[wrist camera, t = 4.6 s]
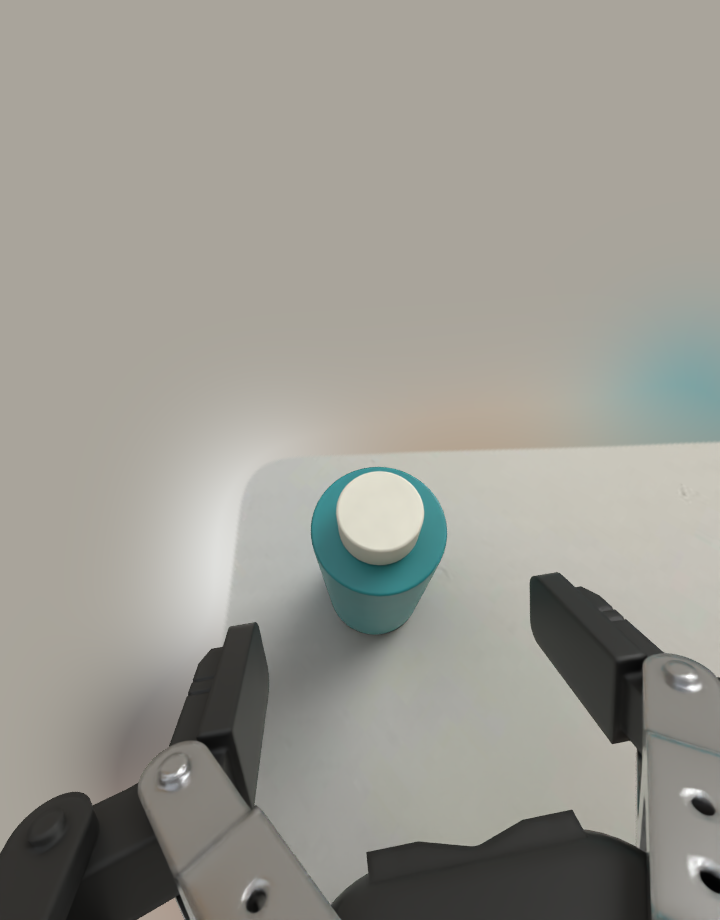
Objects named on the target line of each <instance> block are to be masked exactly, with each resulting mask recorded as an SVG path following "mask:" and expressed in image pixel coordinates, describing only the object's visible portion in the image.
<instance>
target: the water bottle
mask: <svg viewBox="0 0 720 920" xmlns="http://www.w3.org/2000/svg"><path fill="white" fill-rule="evenodd" d="M311 539H312V545H313V548H314V552H315V555H316V558H317V561H318V564H319V566H320V569H321V572H322V575H323V578H324V581H325V584H326V587H327V590H328V593H329V596H330V599H331V602H332V605H333V607H334V609H335V611H336V613H337V614H338V616H339V617H340V618H341V620H342V621H343V622H345V623H346V624H347V625H348V626H350V627H351V628H353V629H355V630H356V631H359V632H362V633H366V634H384V633H388V632H390V631H393V630H395V629H397V628H398V627H400V626H401V625H402V624H404V623H405V622H406V621H407V620H408V618H409V617H410V616H411V614H412V612H413V611H414V609H415V607H416V605H417V603H418V602H419V600H420V598H421V596H422V594H423V592H424V590H425V589H426V587H427V585H428V583H429V581H430V579H431V577H432V576H433V574H434V572H435V570H436V568H437V566H438V564H439V563H440V561H441V558H442V556H443V554H444V550H445V546H446V540H447V526H446V519H445V516H444V513H443V510H442V508H441V506H440V503H439V502H438V500H437V499H436V497H435V496H434V494H433V493H432V492H431V491H430V489H429V488H427V487H426V486H425V485H424V484H423V483H422V482H421V481H419V480H418V479H416V478H415V477H413V476H411V475H410V474H407V473H405V472H403V471H399V470H396V469H392V468H386V467H370V468H364V469H360V470H356V471H353V472H351V473H349V474H346V475H345V476H343V477H341V478H340V479H338V480H337V481H336V482H334V483H333V484H332V485H331V486H330V487H329V488H328V489H327V490H326V491H325V492H324V494H323V495H322V496H321V498H320V500H319V501H318V503H317V505H316V508H315V510H314V513H313V517H312V523H311Z"/></svg>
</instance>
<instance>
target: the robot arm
mask: <svg viewBox="0 0 720 920" xmlns="http://www.w3.org/2000/svg"><path fill="white" fill-rule="evenodd" d="M530 623H531V629H532V632H533V635H534V638H535V640H536V642H537V643H538V645H539V646H540V648H541V649H542V650H543V652H544V653H545V654H546V656H547V657H548V658H549V660H550V661H551V662H552V664H553V665H554V666H555V668H556V669H557V670H558V672H559V673H560V674H561V676H562V677H563V679H564V680H565V681H566V683H567V684H568V685H569V687H570V688H571V689H572V691H573V692H574V693H575V695H576V696H577V697H578V699H579V700H580V701H581V703H582V704H583V705H584V707H585V708H586V709H587V711H588V712H589V714H590V715H591V716H592V718H593V719H594V720H595V722H596V723H597V724H598V726H599V727H600V728H601V730H602V731H603V732H604V734H605V735H606V736H607V738H608V739H609V740H610V742H611V743H612V744H615V743H620V742H625V741H630V740H631V742H632V743H633V744H634V746H635V747H636V748H637V752H636V846H634V845H632V844H630V843H627V842H625V841H623V840H621V839H619V838H616V837H613V836H610V835H607V834H604V833H600V832H595V831H591V830H583V828H582V827H581V825H580V823H579V821H578V819H577V818H576V816H575V814H574V812H573V810H568V811H563V812H559V813H554V814H549V815H544V816H539V817H535V818H530V819H525V820H522V821H520V822H518V823H517V824H515V825H513V826H512V827H510V828H508V829H506V830H505V831H503V832H501V833H499V834H498V835H496V836H494V837H493V838H491V839H489V840H487V841H486V842H484V843H482V844H480V845H478V846H460V845H449V844H439V843H428V842H414V843H409V844H404V845H400V846H395V847H390V848H385V849H380V850H375V851H371V852H366V853H367V863H368V872H369V873H368V874H366V875H365V876H363V877H361V878H360V879H358V880H357V881H355V882H354V883H353V884H352V885H350V886H349V887H348V888H346V889H345V890H344V891H343V892H342V893H341V894H340V895H339V896H338V897H337V898H336V899H335V901H334V902H333V903H332V904H331V905H330V904H329V902H328V901H327V900H326V898H325V897H324V895H323V894H322V893H321V891H320V890H319V888H318V887H317V886H316V884H315V883H314V882H313V880H312V879H311V877H310V876H309V875H308V873H307V872H306V870H305V869H304V868H303V866H302V865H301V863H300V862H299V861H298V859H297V858H296V857H295V855H294V854H293V852H292V851H291V850H290V848H289V847H288V845H287V844H286V843H285V841H284V840H283V839H282V837H281V836H280V834H279V833H278V832H277V830H276V829H275V827H274V826H273V825H272V823H271V822H270V821H269V819H268V818H267V816H266V815H265V814H264V812H263V811H262V810H261V809H260V808H259V807H258V806H254V802H255V794H256V786H257V778H258V771H259V763H260V755H261V748H262V740H263V732H264V724H265V717H266V709H267V701H268V694H269V673H268V667H267V662H266V657H265V653H264V648H263V643H262V639H261V634H260V630H259V626H258V624H257V623H256V622H254V623H249V624H243V625H237V626H231V627H229V629H228V632H227V635H226V639H225V642H224V645H223V647H220V648H214V649H211V650H210V651H209V652H208V653H207V655H206V656H205V657H204V658H203V659H202V660H201V662H200V663H199V664H198V667H197V670H196V673H195V675H194V678H193V683H192V684H191V687H190V689H189V692H188V696H187V698H186V701H185V703H184V706H183V709H182V712H181V715H180V717H179V720H178V723H177V726H176V728H175V731H174V734H173V737H172V740H171V743H170V745H169V747H168V748H167V749H165V750H163V751H162V752H161V753H159V754H158V755H157V756H156V757H155V758H154V759H153V760H152V761H151V762H150V763H149V764H148V766H147V767H146V768H145V770H144V772H143V773H142V775H141V778H140V780H139V782H138V783H137V784H135V785H134V786H132V787H130V788H128V789H127V790H125V791H122V792H120V793H118V794H116V795H114V796H112V797H110V798H108V799H106V800H103V801H101V802H99V803H97V804H95V805H93V806H92V803H91V801H90V798H89V797H88V796H87V795H85V794H84V793H80V792H70V793H65V794H62V795H59V796H57V797H55V798H52V799H51V800H49V801H47V802H46V803H44V804H42V805H41V806H39V807H38V808H37V809H35V810H34V811H33V812H32V813H31V814H29V815H28V816H27V817H26V818H25V819H24V820H23V821H22V822H21V824H19V825H18V827H17V828H16V829H15V830H14V832H13V833H12V835H11V836H10V838H9V839H8V841H7V843H6V844H5V846H4V848H3V850H2V851H1V853H0V920H137V919H139V918H140V917H142V916H144V915H146V914H147V913H149V912H151V911H152V910H154V909H156V908H157V907H159V906H161V905H163V904H164V903H166V902H168V901H169V900H171V899H173V898H174V897H175V899H176V902H177V904H178V906H179V908H180V911H181V913H182V916H183V918H184V920H720V678H719V677H716V676H715V675H714V674H713V673H712V672H711V671H710V670H709V669H708V668H706V667H705V666H703V665H701V664H700V663H698V662H696V661H694V660H692V659H689V658H686V657H683V656H680V655H675V654H667V653H663V652H662V651H661V650H660V649H659V648H658V647H657V646H656V645H654V644H653V643H652V642H651V641H650V640H649V639H648V638H647V637H645V636H644V635H643V634H642V633H641V632H640V631H639V630H637V629H636V628H635V627H634V626H633V625H632V624H631V623H630V622H628V621H627V620H626V619H625V620H624V618H623V616H622V615H621V614H619V613H618V612H617V611H616V610H613V608H612V606H610V605H609V604H608V603H607V602H606V601H605V600H604V599H603V598H601V597H600V596H599V595H597V594H595V593H593V592H591V591H589V590H587V589H585V588H583V587H581V586H580V587H574V586H573V585H572V584H571V583H570V582H569V581H568V580H567V579H566V578H565V577H564V576H563V575H561V574H560V573H558V572H556V573H550V574H544V575H538V576H533V577H531V579H530Z"/></svg>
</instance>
